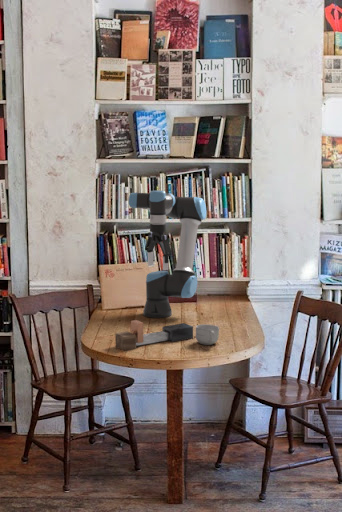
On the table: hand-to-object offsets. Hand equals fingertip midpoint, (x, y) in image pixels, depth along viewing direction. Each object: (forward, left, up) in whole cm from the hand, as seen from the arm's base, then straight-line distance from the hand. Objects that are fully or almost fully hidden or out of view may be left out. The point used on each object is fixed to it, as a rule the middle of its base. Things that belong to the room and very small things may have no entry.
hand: (158, 267), depth 353 cm
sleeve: (+14, +2, -32) cm, 35 cm away
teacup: (+30, +8, -32) cm, 45 cm away
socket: (+14, -26, -32) cm, 43 cm away
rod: (+14, -12, -32) cm, 37 cm away
